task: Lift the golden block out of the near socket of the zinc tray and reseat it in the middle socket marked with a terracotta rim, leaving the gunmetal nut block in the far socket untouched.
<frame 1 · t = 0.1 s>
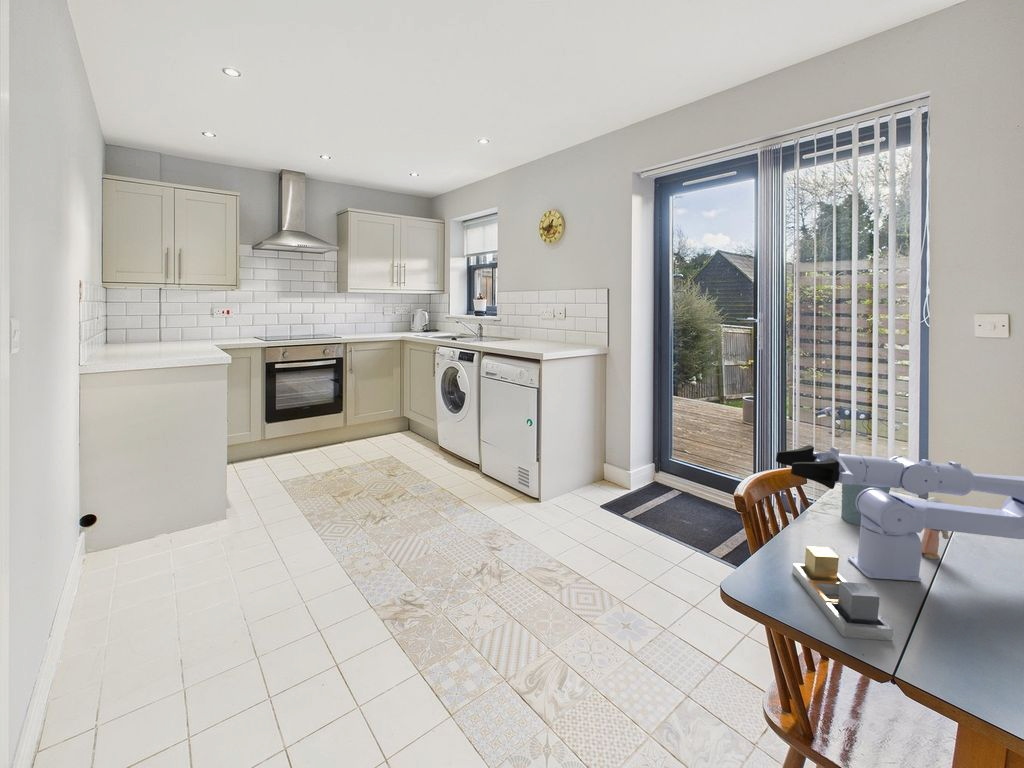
hand: (784, 462, 99), 22 cm above the table, tool horizontal, fingers open, 7 cm apart
golden block: (819, 583, 94), resting in zinc tray
gunmetal nut block: (855, 625, 82), resting in zinc tray
grandmother figurine: (929, 556, 105), on the table
green pot: (862, 520, 123), on the table
zinc tray: (836, 602, 88), on the table
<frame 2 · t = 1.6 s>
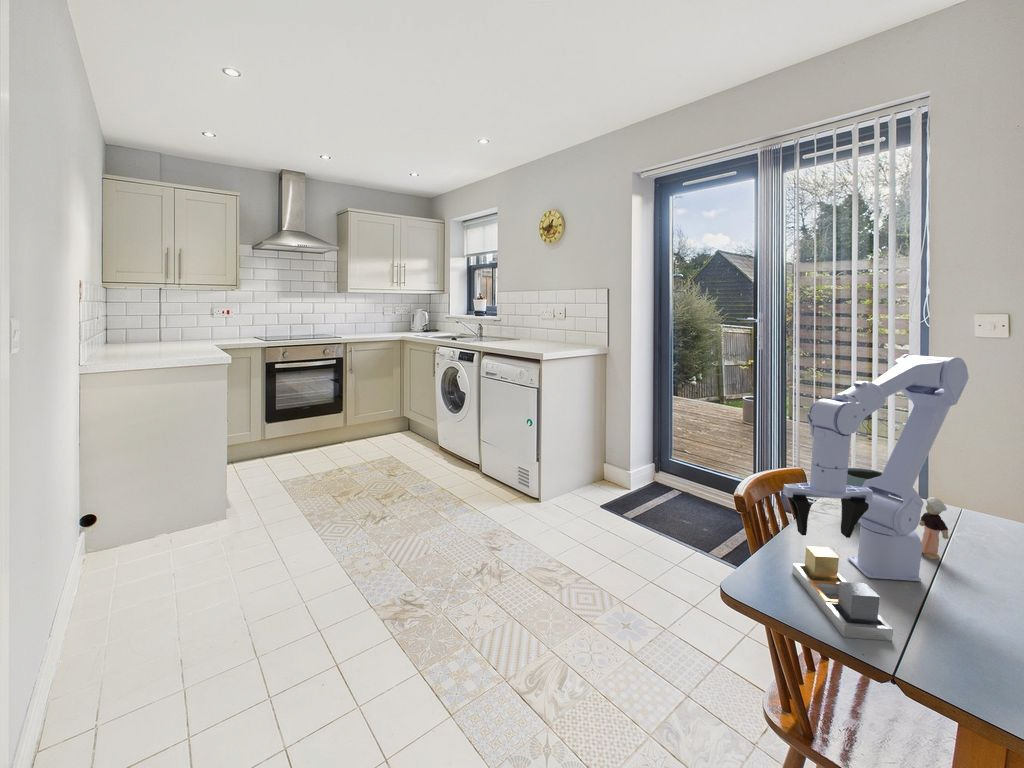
hand: (823, 534, 93), 10 cm above the table, tool pointing down, fingers open, 7 cm apart
nothing on the table moved.
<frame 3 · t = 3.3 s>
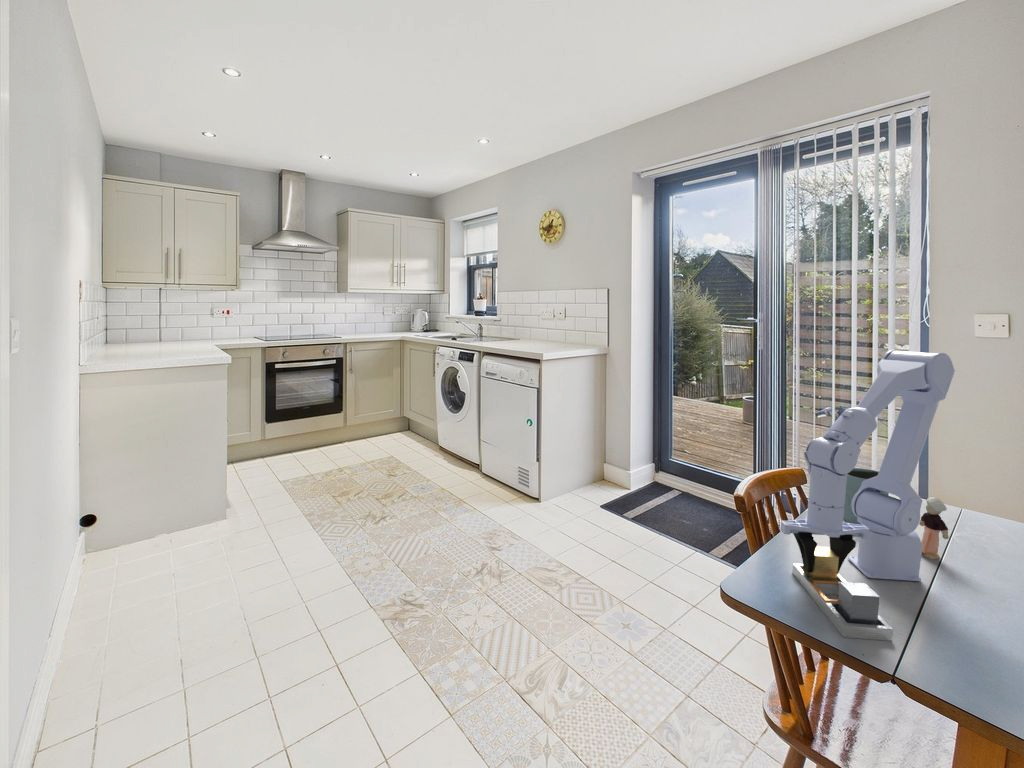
hand: (820, 570, 94), 3 cm above the table, tool pointing down, fingers closed on golden block, 4 cm apart
golden block: (819, 583, 94), resting in zinc tray, touching gripper
everything else where it was.
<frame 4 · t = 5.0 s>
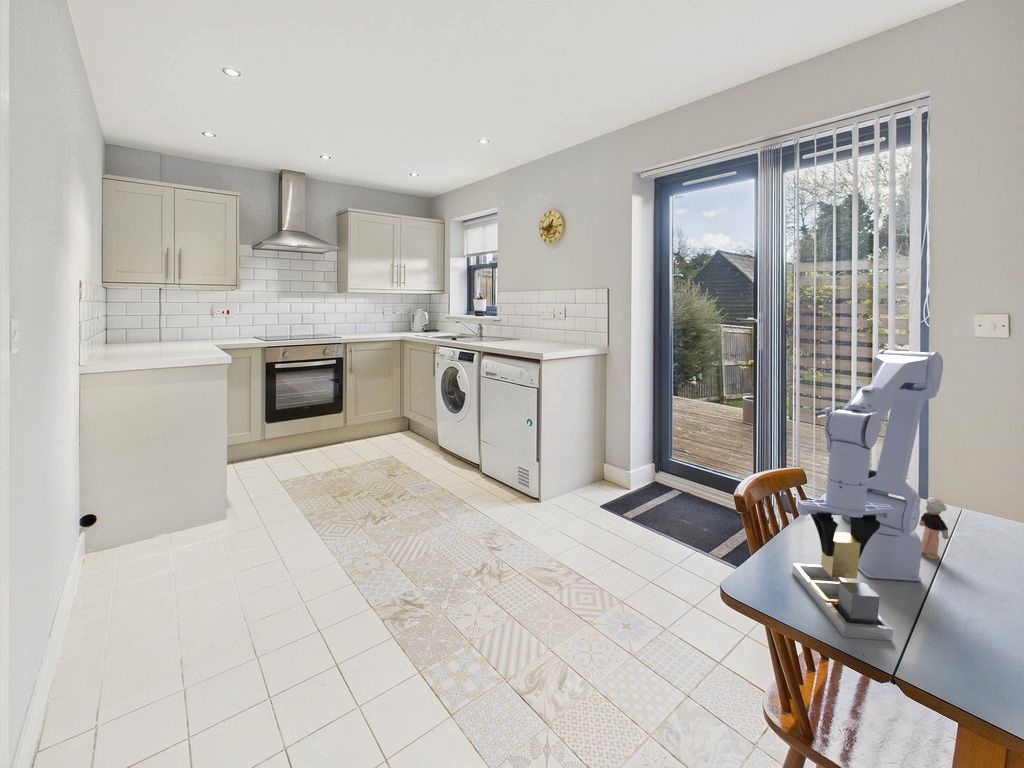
hand: (840, 554, 87), 9 cm above the table, tool pointing down, fingers closed on golden block, 4 cm apart
golden block: (838, 571, 87), point 6 cm above the table, touching gripper
everything else where it was.
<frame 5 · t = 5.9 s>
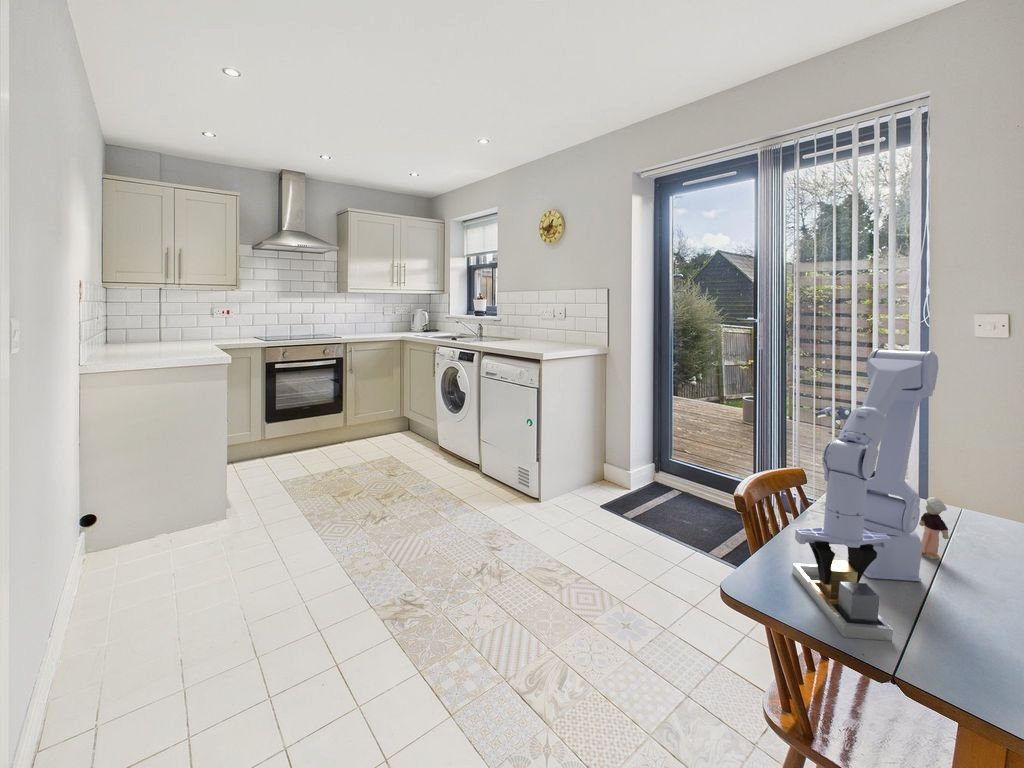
hand: (838, 582, 87), 4 cm above the table, tool pointing down, fingers closed on golden block, 4 cm apart
golden block: (836, 599, 88), resting in zinc tray, touching gripper
everything else where it was.
when the fingers open (4 cm above the table, at t = 6.7 s): golden block stays where it is, resting in zinc tray.
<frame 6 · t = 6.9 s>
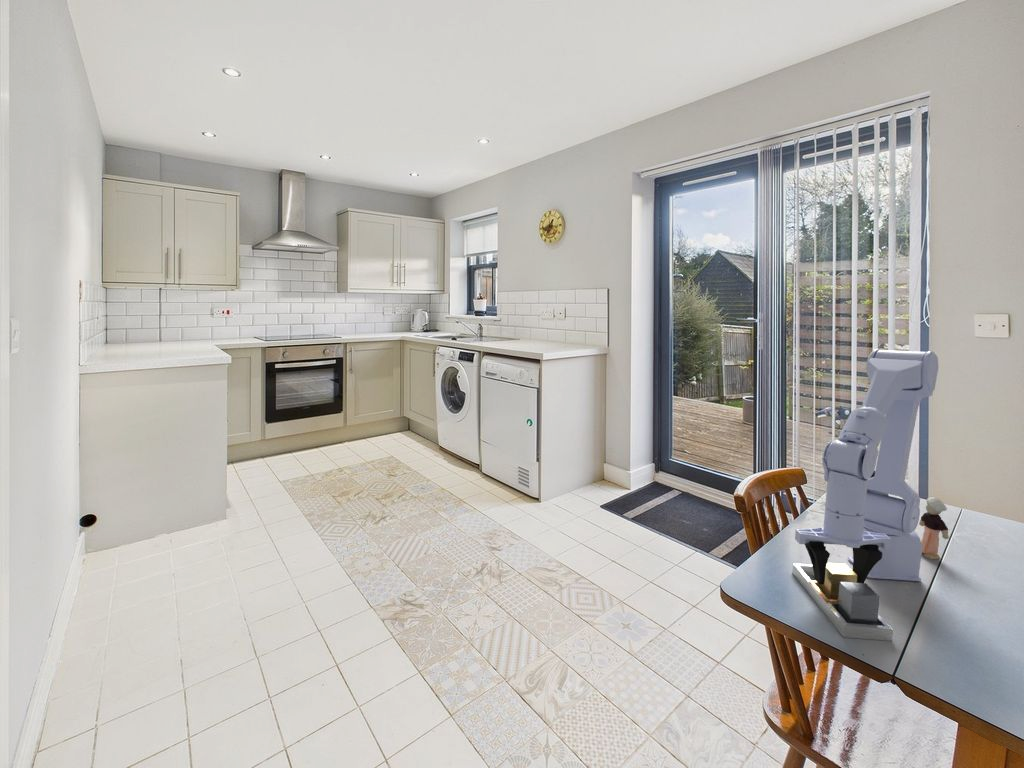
hand: (838, 583, 87), 4 cm above the table, tool pointing down, fingers open, 6 cm apart
golden block: (835, 602, 88), resting in zinc tray
everything else where it was.
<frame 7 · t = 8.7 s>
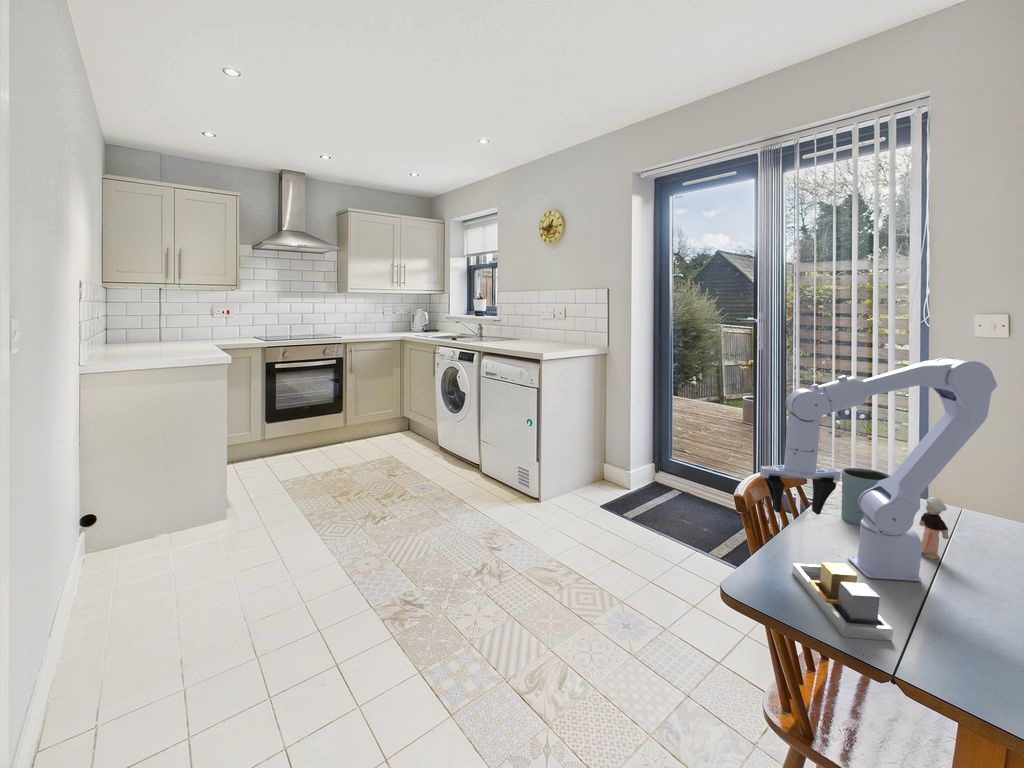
hand: (796, 511, 102), 10 cm above the table, tool pointing down, fingers open, 7 cm apart
nothing on the table moved.
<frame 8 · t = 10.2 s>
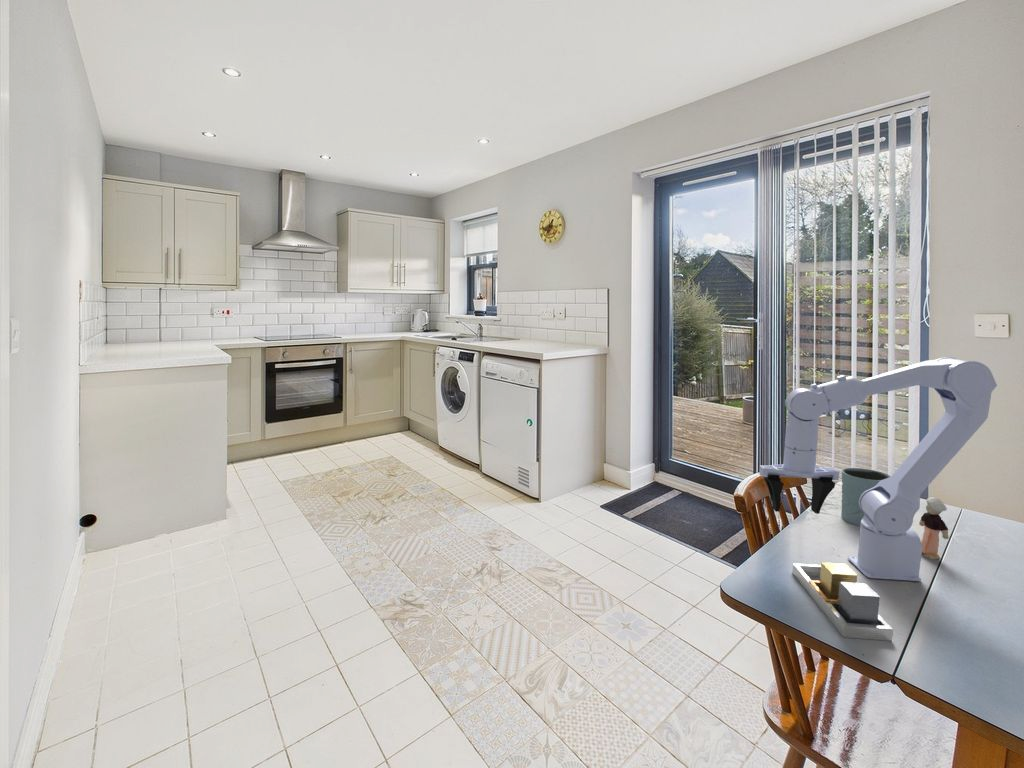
hand: (795, 510, 103), 10 cm above the table, tool pointing down, fingers open, 7 cm apart
nothing on the table moved.
at the end: golden block 0.2 cm off-centre on the zinc tray, point 0.0 cm above the zinc tray's base; golden block tilted 0°; gunmetal nut block moved 0.1 cm from its start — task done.
